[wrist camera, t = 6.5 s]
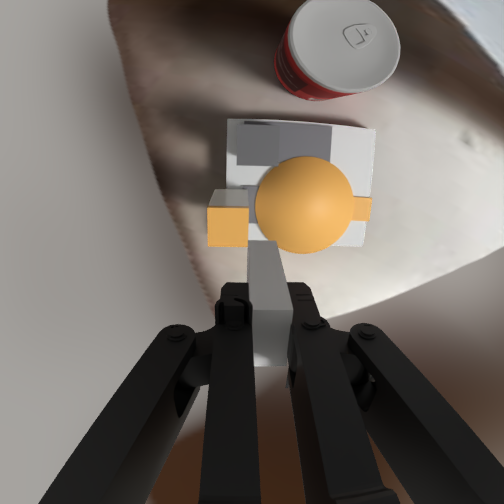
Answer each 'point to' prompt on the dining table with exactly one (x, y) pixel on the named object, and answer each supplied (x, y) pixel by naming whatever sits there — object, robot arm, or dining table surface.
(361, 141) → the orange knob base plate
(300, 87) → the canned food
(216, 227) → the lever
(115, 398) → the robot arm
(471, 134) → the dining table surface
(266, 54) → the dining table surface
